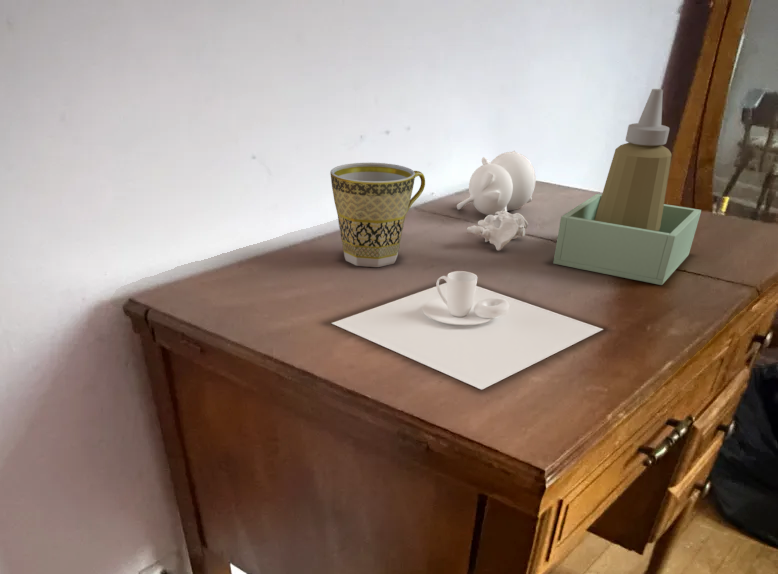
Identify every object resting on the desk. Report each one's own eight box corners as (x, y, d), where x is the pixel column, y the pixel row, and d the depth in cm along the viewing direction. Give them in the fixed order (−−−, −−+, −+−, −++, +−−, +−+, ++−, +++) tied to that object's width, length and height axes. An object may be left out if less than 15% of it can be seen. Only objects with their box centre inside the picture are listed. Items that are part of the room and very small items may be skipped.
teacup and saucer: (518, 317, 76) (523, 279, 74) (469, 338, 72) (474, 298, 69) (455, 295, 81) (458, 258, 78) (406, 313, 77) (408, 274, 74)
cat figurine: (489, 149, 98) (534, 134, 105) (434, 183, 106) (479, 167, 113) (512, 212, 101) (554, 194, 108) (456, 241, 109) (499, 222, 116)
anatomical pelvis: (488, 202, 98) (535, 205, 96) (487, 235, 101) (533, 238, 98) (465, 215, 93) (514, 218, 90) (464, 249, 95) (512, 253, 92)
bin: (688, 255, 94) (701, 209, 91) (661, 285, 85) (675, 236, 81) (588, 237, 100) (596, 193, 96) (552, 263, 90) (561, 216, 87)
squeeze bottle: (576, 246, 94) (606, 85, 83) (629, 242, 96) (666, 84, 85) (609, 266, 88) (647, 95, 77) (665, 261, 90) (710, 93, 79)
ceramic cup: (362, 277, 85) (363, 185, 79) (316, 254, 91) (314, 168, 85) (445, 258, 91) (452, 171, 85) (397, 238, 97) (400, 156, 91)
